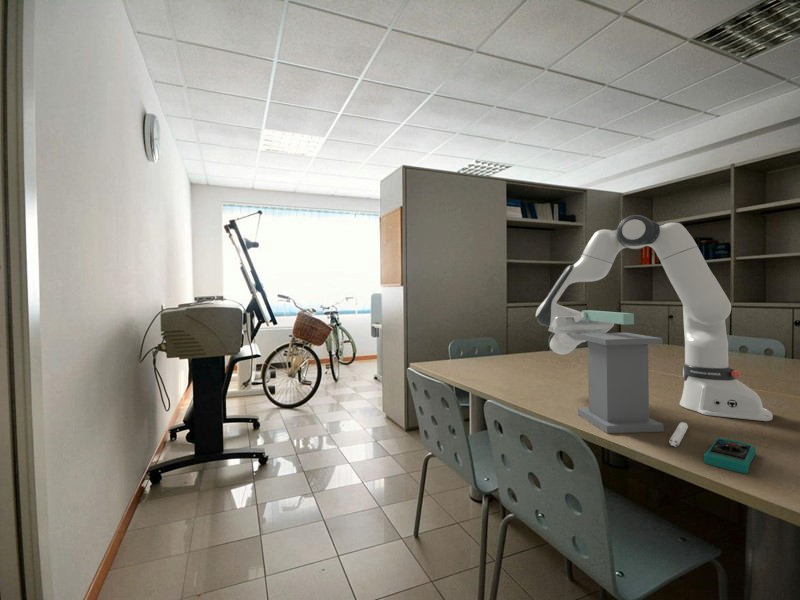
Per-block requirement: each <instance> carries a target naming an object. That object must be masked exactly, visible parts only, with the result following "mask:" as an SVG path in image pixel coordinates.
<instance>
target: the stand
mask: <svg viewBox="0 0 800 600" xmlns="http://www.w3.org/2000/svg"><path fill="white" fill-rule="evenodd" d="M577 339H582V340H586V341H585V342H587V365H588V366H587V370H588V372H587V373H588V375H587V377H588V379H587V380H588V407H581V408H577V415H578V416H579V415H580V416H579V417H580V418H582V417H583V418H582V419H584V418H585V419H586V421H587V420H588V421H587V422H589V423H590V422H591V423H590V424H592V425H593V424H594V425H593V426H595V427H596V426H597V428H598V429H600V430H601V429H602V430H601V431H603V432H604V431H605V433H606V434H623V433H625V434H626V433H632V434H633V433H656V432H657V433H658V432H659V433H660V432H665V431H664V430H665V429H664V428H665V427H664V423H661V422H659V421H657V420H655V419H653V418H651V417H650V408H649V407H650V402H649V400H650V397H649V396H650V393H649V392H650V391H649V390H650V389H649V387H650V386H649V385H650V383H649V345H658V344H659V345H660V344H661V345H663V342H664V341H663V338H662V337H656V336H650V335H643V334H638V333H637V334H636V333H631V332H606V333H585V334H577ZM585 419H584V420H585Z"/></svg>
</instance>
